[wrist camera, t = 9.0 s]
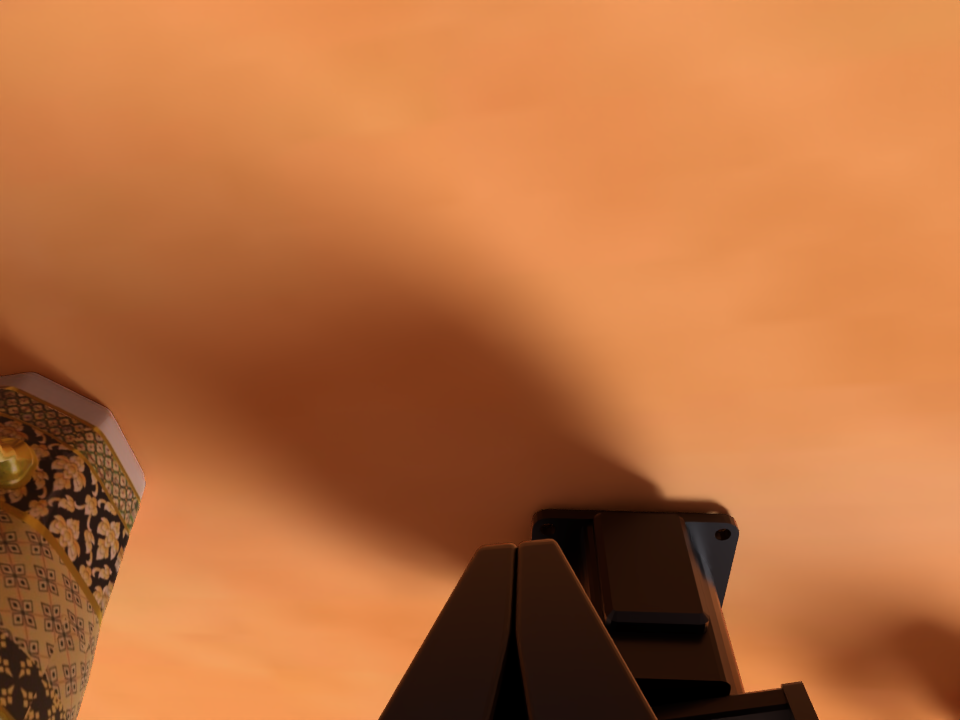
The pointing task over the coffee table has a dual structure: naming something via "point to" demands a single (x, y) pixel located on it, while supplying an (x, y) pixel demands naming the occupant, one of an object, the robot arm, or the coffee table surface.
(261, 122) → the coffee table surface
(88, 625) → the ceramic cup
